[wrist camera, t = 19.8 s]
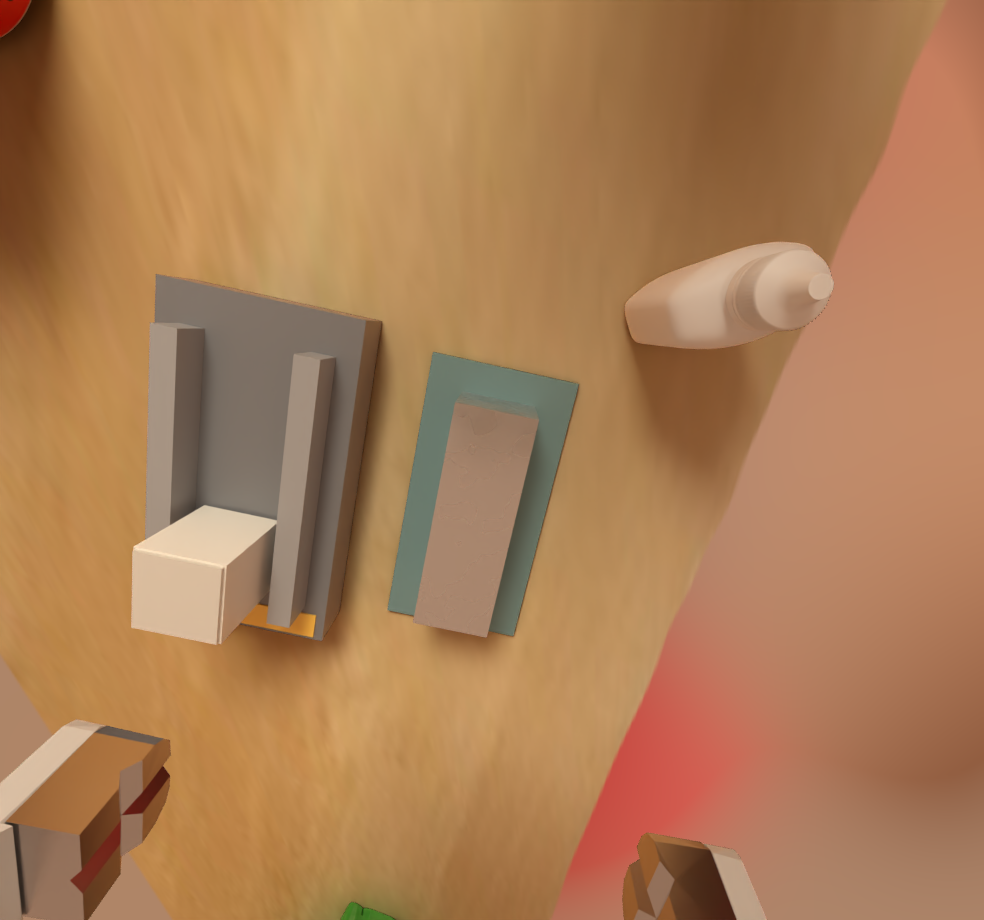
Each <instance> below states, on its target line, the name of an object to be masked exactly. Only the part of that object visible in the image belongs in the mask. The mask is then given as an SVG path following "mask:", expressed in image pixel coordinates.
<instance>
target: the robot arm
mask: <svg viewBox="0 0 984 920" xmlns="http://www.w3.org/2000/svg"><path fill="white" fill-rule="evenodd" d="M170 756H171V750H170V740H167V739H163V738H158V737H154V736H150V735H145V734H141V733H136V732H132V731H128V730H123V729H119V728H114V727H110V726H106V725H101V724H96V723H91V722H86V721H82V720H77V719H76V720H74V721H72V722H70V723H68V724H66V725H65V726H63V727H61V728H60V729H59V730H58V731H57V732H56V733H55V734H54V735H53V736H51V737H50V738H49V739H48V740H47V741H46V742H45V743H44V744H43V745H42V746H41V747H39V748H38V749H37V750H36V751H35V752H34V753H33V754H32V755H31V756H30V757H28V758H27V759H26V760H25V761H24V762H23V763H22V764H21V765H20V766H19V767H17V768H16V769H15V770H14V771H13V772H12V773H11V774H10V775H9V776H8V777H6V778H5V779H4V780H3V781H2V782H1V783H0V920H23V917H22V916H25V917H31V918H38V919H45V920H88V919H89V918H90V917H91V915H92V914H93V912H94V911H95V909H96V908H97V907H98V905H99V904H100V902H101V901H102V899H103V898H104V897H105V895H106V894H107V892H108V891H109V889H110V888H111V887H112V885H113V884H114V882H115V881H116V880H117V878H118V877H119V875H120V872H121V856H123V855H124V854H126V853H127V852H129V851H130V850H132V849H133V848H135V847H137V846H138V845H140V844H141V843H142V842H143V841H144V840H145V838H146V837H147V835H148V834H149V832H150V831H151V829H152V828H153V826H154V825H155V823H156V821H157V819H158V817H159V815H160V813H161V811H162V809H163V807H164V805H165V803H166V799H167V796H168V792H169V788H170V775H169V773H168V772H167V771H166V769H165V768H164V767H163V765H164V763H165V762H166V761H167V759H168V758H169V757H170ZM637 849H638V854H639V858H640V859H639V860H637V861H636V862H634V863H632V864H631V865H629V867H628V870H627V873H626V876H625V879H624V887H623V914H624V920H767V918H766V915H765V913H764V911H763V909H762V906H761V904H760V901H759V899H758V897H757V895H756V892H755V890H754V888H753V885H752V883H751V881H750V878H749V876H748V874H747V871H746V869H745V867H744V865H743V862H742V860H741V858H740V856H739V855H738V854H737V853H736V851H735V850H732V849H729V848H724V847H719V846H714V845H708V844H702V843H701V842H697V841H691V840H686V839H680V838H675V837H669V836H664V835H658V834H652V833H646V834H644V835H643V836H641V839H640V841H639V843H638V846H637Z"/></svg>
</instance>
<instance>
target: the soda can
mask: <svg viewBox="0 0 984 920" xmlns="http://www.w3.org/2000/svg"><path fill="white" fill-rule="evenodd" d="M31 1H32V0H0V38H1V37H3V36H4V35H6V34H7V33H9V32H10V31H11V30H13V29H14V28H15V27H16V26H17V25H18V23H19V22H20V21H21V20H22V18H23V17H24V15H25V14H26V12H27V10H28V8H29V6H30V3H31Z"/></svg>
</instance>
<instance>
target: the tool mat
mask: <svg viewBox="0 0 984 920" xmlns="http://www.w3.org/2000/svg"><path fill="white" fill-rule="evenodd" d="M578 386H579V384H577V383H572V382H568V381H563V380H559V379H554V378H550V377H545V376H540V375H536V374H531V373H527V372H522V371H518V370H513V369H509V368H504V367H499V366H495V365H490V364H486V363H481V362H477V361H472V360H468V359H463V358H459V357H454V356H449V355H445V354H440V353H436V352H433V355H432V361H431V367H430V372H429V378H428V384H427V389H426V395H425V401H424V406H423V412H422V418H421V423H420V429H419V435H418V440H417V446H416V452H415V457H414V463H413V469H412V474H411V480H410V486H409V491H408V497H407V502H406V508H405V514H404V519H403V525H402V531H401V536H400V542H399V548H398V553H397V559H396V565H395V570H394V576H393V582H392V587H391V593H390V599H389V604H388V610H389V611H394V612H399V613H403V614H408V615H413V616H414V614H415V609H416V604H417V598H418V593H419V588H420V583H421V578H422V572H423V567H424V562H425V557H426V552H427V546H428V541H429V536H430V531H431V525H432V520H433V515H434V510H435V505H436V499H437V494H438V489H439V484H440V478H441V473H442V468H443V463H444V458H445V452H446V447H447V442H448V437H449V432H450V426H451V421H452V416H453V411H454V405H455V402H456V400H457V399H458V397H459V396H460V395H461V393H462V392H463V391H464V392H469V393H474V394H478V395H483V396H488V397H492V398H497V399H501V400H506V401H511V402H515V403H520V404H525V405H529V406H534V407H535V409H536V412H537V415H538V418H539V423H538V427H537V431H536V435H535V440H534V444H533V448H532V452H531V456H530V460H529V464H528V469H527V473H526V477H525V481H524V485H523V489H522V493H521V498H520V502H519V506H518V510H517V514H516V518H515V523H514V527H513V531H512V535H511V539H510V543H509V547H508V552H507V556H506V560H505V564H504V568H503V572H502V576H501V581H500V585H499V589H498V593H497V597H496V601H495V605H494V610H493V614H492V618H491V622H490V626H489V630H488V631H491V632H496V633H500V634H505V635H510V636H513V635H514V632H515V628H516V624H517V620H518V616H519V612H520V609H521V605H522V601H523V597H524V593H525V589H526V586H527V582H528V578H529V574H530V570H531V566H532V563H533V559H534V555H535V551H536V547H537V543H538V540H539V536H540V532H541V528H542V524H543V520H544V516H545V513H546V509H547V505H548V501H549V497H550V493H551V490H552V486H553V482H554V478H555V474H556V470H557V467H558V463H559V459H560V455H561V451H562V447H563V444H564V440H565V436H566V432H567V428H568V424H569V421H570V417H571V413H572V409H573V405H574V401H575V398H576V394H577V390H578Z"/></svg>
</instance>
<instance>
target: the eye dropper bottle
mask: <svg viewBox="0 0 984 920" xmlns="http://www.w3.org/2000/svg"><path fill="white" fill-rule="evenodd" d="M833 288H834V281H833V279H832V275H831V271H830V270H829V267H828V264H826V262H825V261H824V260H823V258H821V257H820V255H817V254H816V253H814V251H813V250H812V248H810V247H809V246H807V245H805V244H800V243H794V242H769V243H761V244H756V245H751V246H747V247H743V248H739V249H736V250H733V251H730V252H727V253H724V254H721V255H718V256H715V257H712V258H709V259H707V260H704V261H701V262H698V263H695V264H692V265H689V266H686V267H683V268H680V269H677V270H674V271H672V272H669V273H667V274H665V275H662V276H660V277H658V278H657V279H655V280H653V281H651V282H650V283H648V284H647V285H645V286H644V287H642V288H641V289H640V290H639V291H637V292H636V293H635V294H634V295H633V296H632V297H631V298H630V299H629V300H628V301H627V303H626V304H625V311H624V312H625V316H626V320H627V324H628V327H629V331H630V334H631V337H632V338H633V340H634V341H636V342H638V343H641V344H649V345H657V346H666V347H675V348H686V349H718V348H726V347H732V346H737V345H741V344H745V343H749V342H752V341H755V340H758V339H760V338H763V337H765V336H767V335H770V334H772V333H774V332H776V331H789V330H796V329H798V328H801V327H805V325H806V324H809V323H810V322H812V321H813V320H814V319H816V317H817V316H819V315H820V313H822V311H823V309H825V306H826V305H827V302H828V301H829V298H830V294H831V292H832V291H833Z"/></svg>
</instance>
